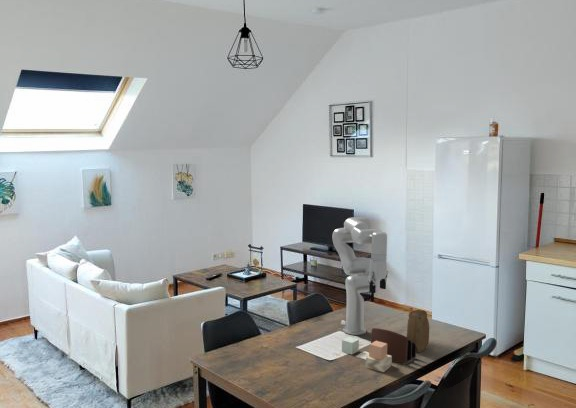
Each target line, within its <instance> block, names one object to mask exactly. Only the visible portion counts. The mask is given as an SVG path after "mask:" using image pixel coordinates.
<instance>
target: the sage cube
mask: <svg viewBox="0 0 576 408" xmlns="http://www.w3.org/2000/svg"><path fill="white" fill-rule="evenodd" d="M359 341H360V340H359V339H358V338H355V337H351V336H347V337H345V338H343V339H342V340H341V352H342V353H345V354H349V355H354V354H356V353H358V352H359V351H360V350H359V348H360V346H359V345H360V344H359V343H360V342H359Z"/></svg>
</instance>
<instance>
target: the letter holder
mask: <svg viewBox="0 0 576 408" xmlns="http://www.w3.org/2000/svg"><path fill="white" fill-rule="evenodd" d="M370 331H371V333H370V335H371V336H370V337H371V338H370V344H371V343H373V342H374V341H379V342H383V343H387V355H390V356H392V362H397V363H399V364H403V365H408V364H410V363H411V362H412V361H414V360H415V359H417V358H416V357H417V352H416V344H415V343H414V342H412V341H411V340H409V339H408V338H407V336H405V335H403V334H401V333H398V332H395V331H391V330H388V329H383V328H377V327H376V328H375V327H373V328H372V329H371V330H370Z"/></svg>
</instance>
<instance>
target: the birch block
mask: <svg viewBox="0 0 576 408" xmlns="http://www.w3.org/2000/svg"><path fill="white" fill-rule="evenodd" d="M392 362H393V360H392V356H390V355H387V356H386V357H385V358H383V359H382V360H379V359H375V358H372V357H369V356H367V357H366V360H365V368H366V369H370V370H375V371H379V372H382V373H385V372H386V371H387V370H388V369H389V368H391V367H392V364H393V363H392Z"/></svg>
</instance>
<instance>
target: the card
mask: <svg viewBox="0 0 576 408" xmlns="http://www.w3.org/2000/svg"><path fill="white" fill-rule="evenodd" d="M367 356H369V352H368V351H366V350H365V351H362V352H360V353H359V354H357V355H355V358H358V359H361V360H365V361H366V357H367Z"/></svg>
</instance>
